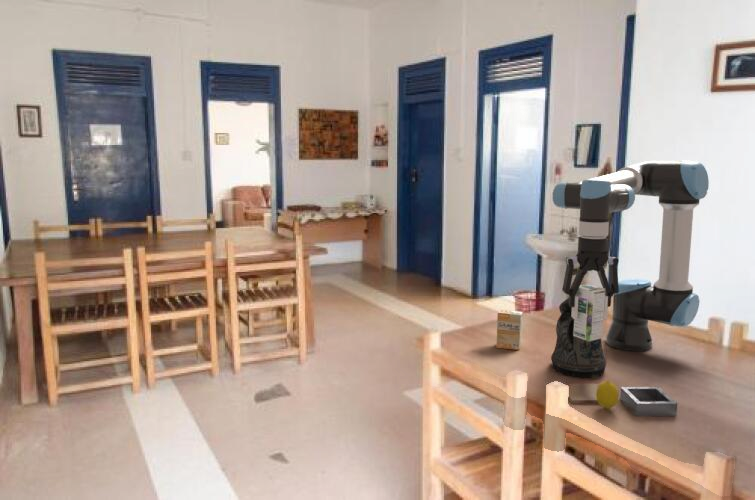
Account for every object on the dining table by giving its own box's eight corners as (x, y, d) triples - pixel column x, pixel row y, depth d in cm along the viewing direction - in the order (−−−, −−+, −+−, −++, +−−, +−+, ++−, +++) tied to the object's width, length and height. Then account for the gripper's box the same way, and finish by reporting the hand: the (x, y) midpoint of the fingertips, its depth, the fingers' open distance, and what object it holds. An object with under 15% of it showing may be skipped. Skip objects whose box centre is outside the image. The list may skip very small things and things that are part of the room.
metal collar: (657, 398, 159) (658, 386, 158) (676, 415, 148) (677, 403, 148) (620, 398, 159) (620, 387, 158) (636, 416, 149) (637, 403, 148)
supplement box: (495, 348, 201) (496, 312, 198) (498, 343, 205) (499, 308, 203) (519, 350, 197) (520, 314, 195) (521, 346, 202) (522, 310, 200)
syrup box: (572, 336, 160) (574, 286, 157) (587, 332, 162) (589, 283, 160) (588, 342, 155) (590, 290, 152) (603, 338, 157) (606, 287, 155)
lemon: (591, 405, 155) (593, 377, 154) (611, 404, 156) (613, 376, 154) (601, 414, 150) (603, 385, 149) (621, 413, 150) (623, 384, 149)
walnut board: (597, 386, 167) (597, 383, 167) (612, 403, 156) (612, 399, 156) (559, 387, 167) (559, 384, 167) (571, 403, 156) (572, 400, 156)
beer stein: (604, 362, 186) (608, 288, 181) (607, 385, 168) (612, 304, 163) (551, 357, 191) (554, 285, 187) (549, 379, 173) (552, 300, 169)
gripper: (624, 234, 157) (620, 313, 161) (551, 235, 157) (548, 314, 161) (636, 238, 150) (631, 321, 154) (559, 239, 150) (556, 322, 154)
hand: (588, 317), depth 158 cm, fingers closed on syrup box, 7 cm apart
